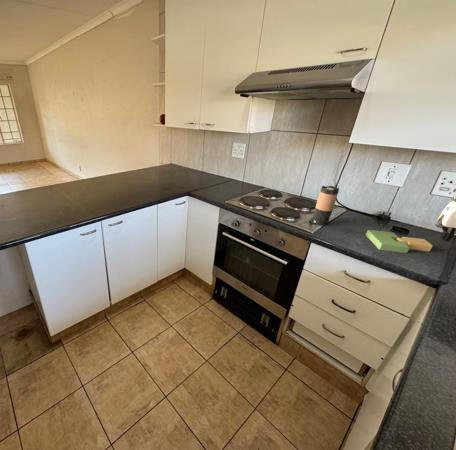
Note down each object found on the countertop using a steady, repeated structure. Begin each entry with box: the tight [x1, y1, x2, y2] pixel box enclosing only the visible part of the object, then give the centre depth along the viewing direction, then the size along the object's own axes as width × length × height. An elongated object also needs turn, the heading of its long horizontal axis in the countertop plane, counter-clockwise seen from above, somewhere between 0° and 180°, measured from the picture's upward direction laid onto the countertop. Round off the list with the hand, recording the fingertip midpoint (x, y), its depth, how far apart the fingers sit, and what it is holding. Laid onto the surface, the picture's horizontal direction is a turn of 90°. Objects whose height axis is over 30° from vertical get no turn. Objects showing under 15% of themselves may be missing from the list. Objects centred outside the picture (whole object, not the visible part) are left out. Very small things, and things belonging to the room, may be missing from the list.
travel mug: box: [312, 185, 340, 227], centre depth 129 cm, size 8×8×20 cm
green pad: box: [365, 229, 410, 254], centre depth 113 cm, size 10×14×3 cm
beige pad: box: [396, 236, 433, 253], centre depth 111 cm, size 11×6×3 cm, turn 73°
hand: (444, 240), depth 107 cm, fingers closed
